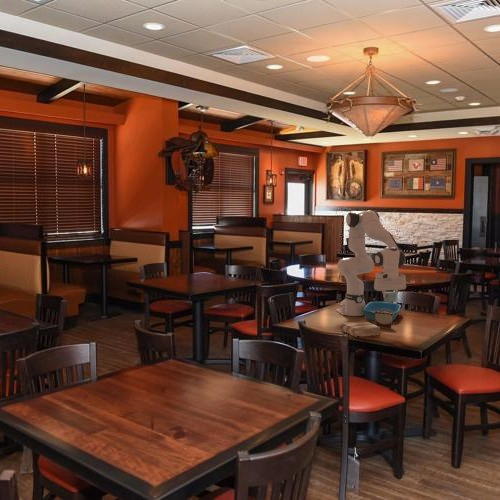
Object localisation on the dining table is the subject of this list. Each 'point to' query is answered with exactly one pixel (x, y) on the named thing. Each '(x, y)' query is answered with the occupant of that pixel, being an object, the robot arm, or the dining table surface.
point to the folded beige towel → (360, 328)
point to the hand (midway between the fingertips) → (389, 297)
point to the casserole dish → (374, 306)
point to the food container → (384, 318)
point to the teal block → (390, 297)
